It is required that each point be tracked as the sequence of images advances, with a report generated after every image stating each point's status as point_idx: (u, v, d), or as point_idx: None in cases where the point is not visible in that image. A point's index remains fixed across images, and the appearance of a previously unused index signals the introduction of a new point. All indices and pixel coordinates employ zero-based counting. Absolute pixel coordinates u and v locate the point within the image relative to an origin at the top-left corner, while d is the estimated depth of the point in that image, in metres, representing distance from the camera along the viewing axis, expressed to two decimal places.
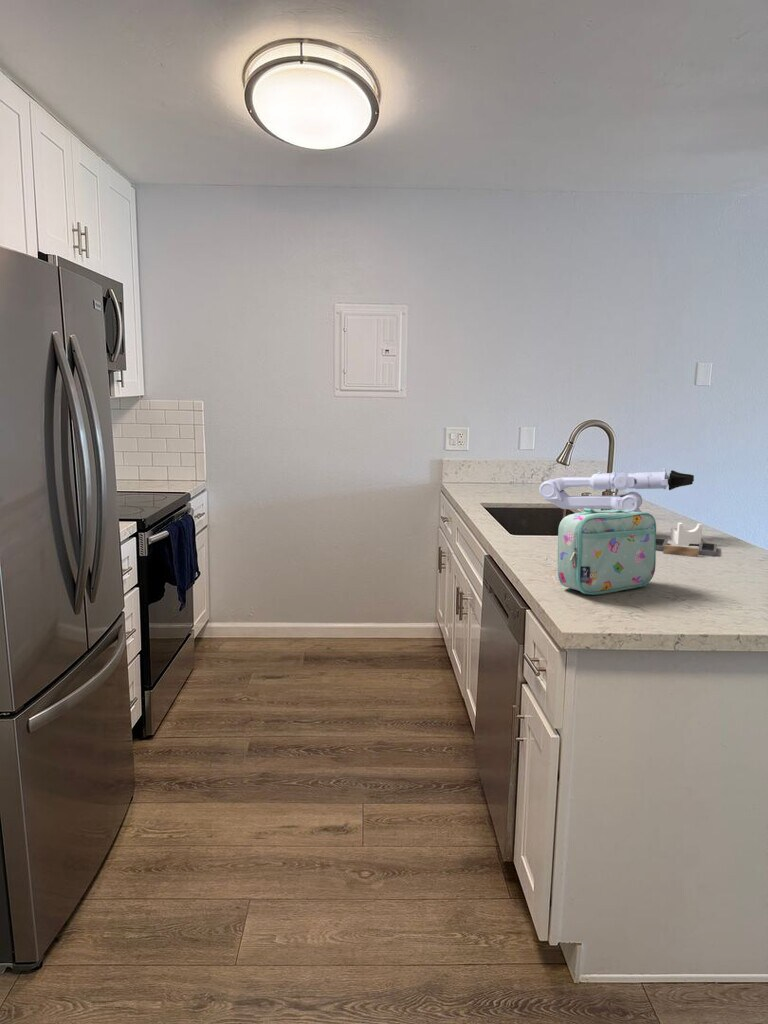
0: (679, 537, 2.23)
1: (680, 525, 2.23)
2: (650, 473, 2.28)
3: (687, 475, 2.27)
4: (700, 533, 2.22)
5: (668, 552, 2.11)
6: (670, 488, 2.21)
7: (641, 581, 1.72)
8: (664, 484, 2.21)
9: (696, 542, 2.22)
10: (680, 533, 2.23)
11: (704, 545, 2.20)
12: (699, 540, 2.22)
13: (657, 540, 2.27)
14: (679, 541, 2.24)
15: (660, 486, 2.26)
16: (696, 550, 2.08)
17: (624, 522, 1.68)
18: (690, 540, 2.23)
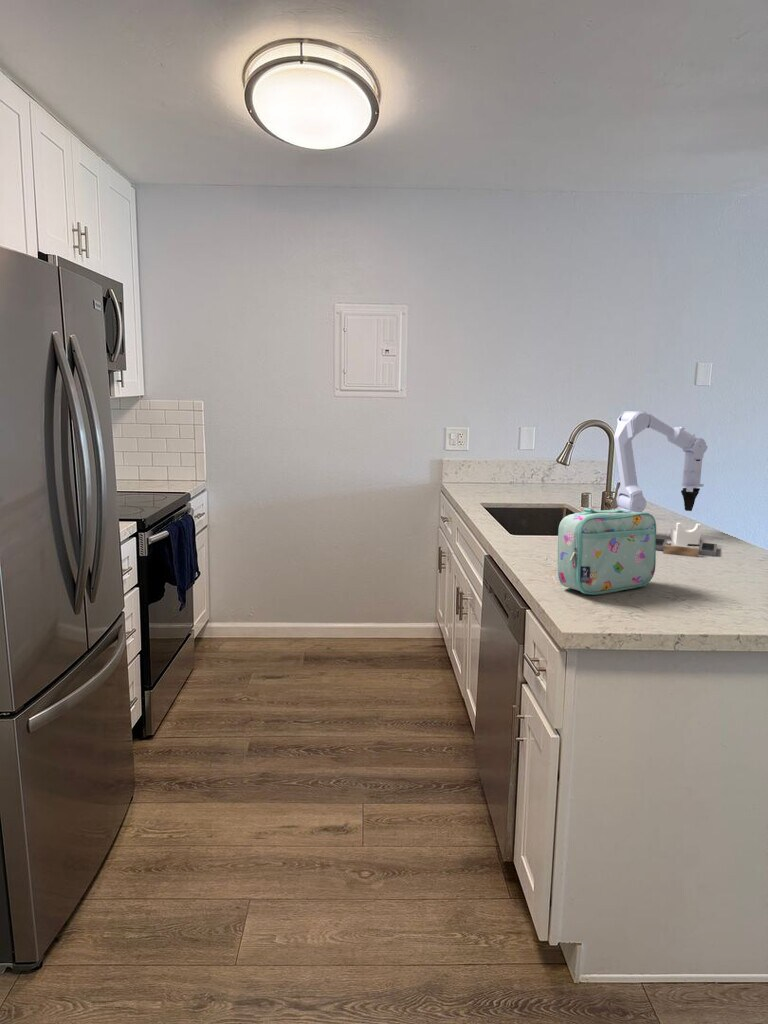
0: (677, 537, 2.23)
1: (678, 525, 2.22)
2: (699, 473, 2.33)
3: None
4: (698, 533, 2.21)
5: (668, 552, 2.11)
6: (682, 492, 2.33)
7: (641, 581, 1.72)
8: (687, 488, 2.30)
9: (694, 542, 2.22)
10: (678, 533, 2.23)
11: (704, 545, 2.20)
12: (697, 541, 2.22)
13: (657, 540, 2.27)
14: (677, 541, 2.23)
15: (685, 481, 2.35)
16: (696, 550, 2.08)
17: (624, 522, 1.68)
18: (689, 540, 2.22)
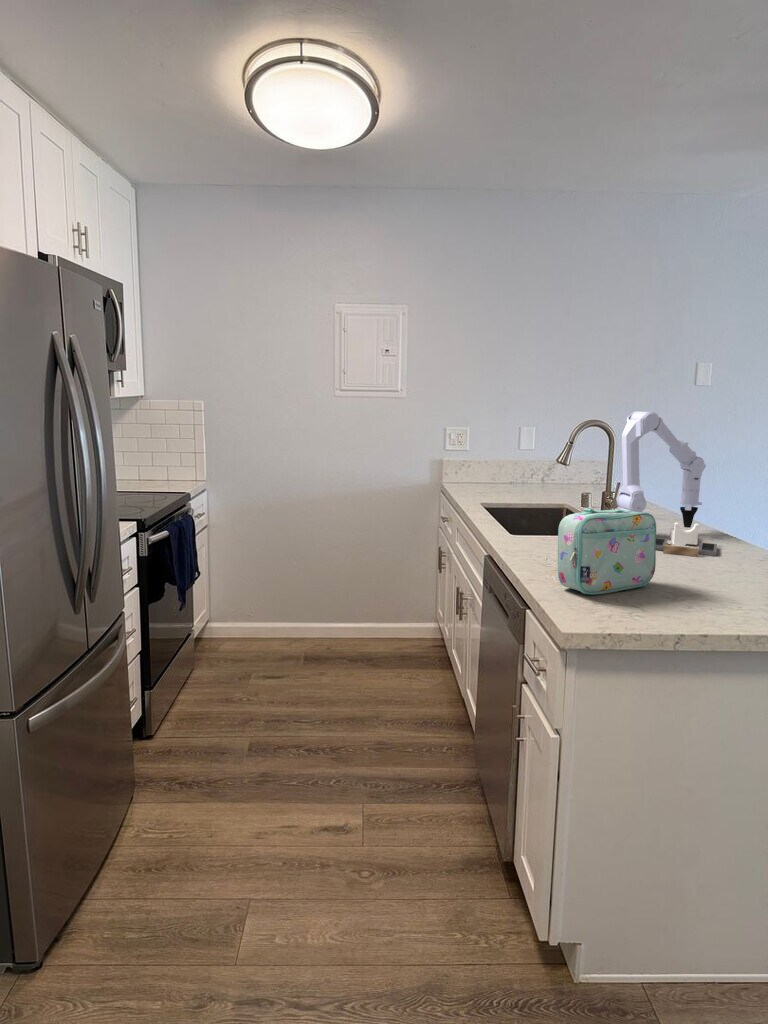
0: (675, 537, 2.23)
1: (676, 525, 2.23)
2: (698, 491, 2.34)
3: None
4: (696, 533, 2.21)
5: (668, 552, 2.11)
6: (681, 509, 2.37)
7: (641, 581, 1.72)
8: (686, 507, 2.31)
9: (692, 542, 2.22)
10: (676, 533, 2.23)
11: (704, 545, 2.20)
12: (695, 541, 2.22)
13: (657, 540, 2.27)
14: (675, 541, 2.24)
15: (683, 500, 2.36)
16: (696, 550, 2.08)
17: (624, 522, 1.68)
18: (687, 540, 2.22)
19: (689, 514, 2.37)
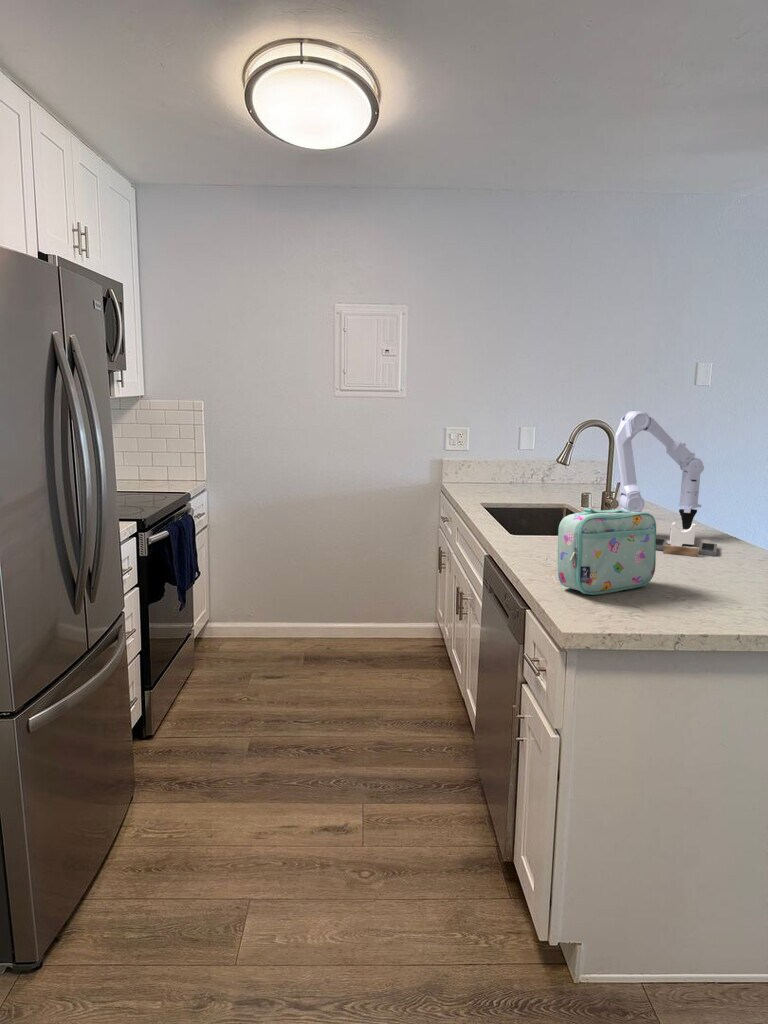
0: (672, 537, 2.23)
1: (673, 525, 2.22)
2: (697, 493, 2.30)
3: None
4: (693, 533, 2.21)
5: (668, 552, 2.11)
6: (680, 512, 2.32)
7: (641, 581, 1.72)
8: (685, 509, 2.26)
9: (689, 542, 2.21)
10: (672, 533, 2.23)
11: (704, 545, 2.20)
12: (692, 541, 2.21)
13: (657, 540, 2.27)
14: (672, 541, 2.23)
15: (682, 502, 2.31)
16: (696, 550, 2.08)
17: (624, 522, 1.68)
18: (683, 540, 2.22)
19: (688, 517, 2.32)
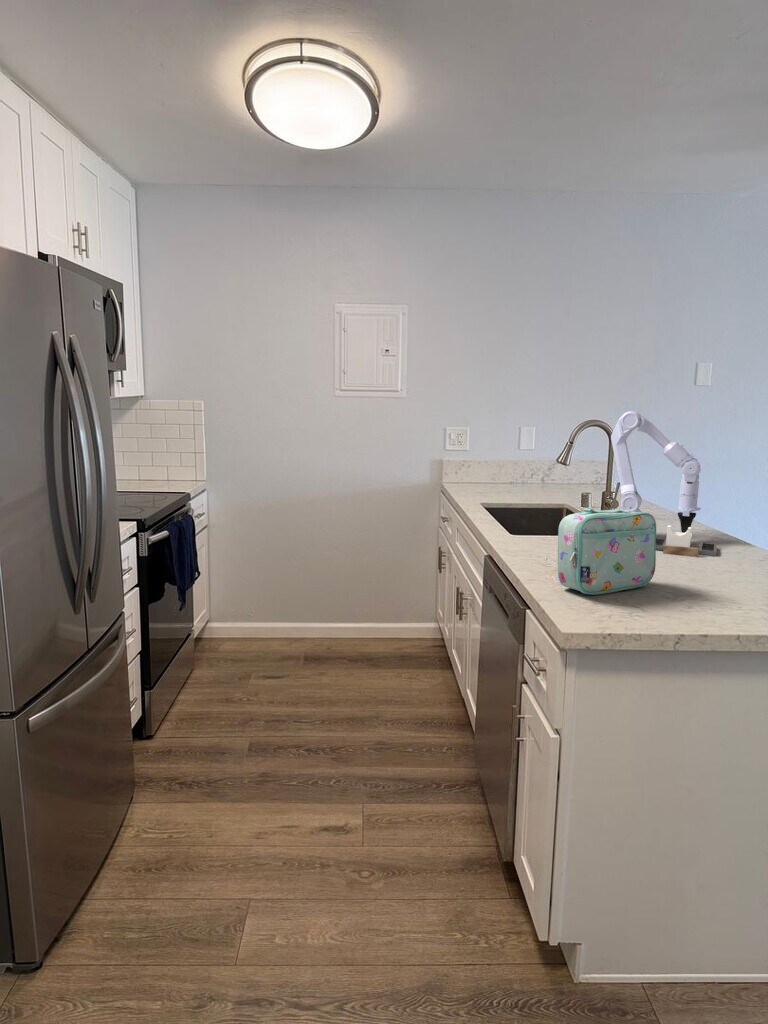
0: (667, 540, 2.18)
1: (668, 528, 2.17)
2: (696, 496, 2.23)
3: None
4: (689, 537, 2.15)
5: (668, 552, 2.11)
6: (679, 515, 2.26)
7: (641, 581, 1.72)
8: (684, 512, 2.20)
9: (685, 546, 2.16)
10: (668, 536, 2.18)
11: (704, 545, 2.20)
12: (688, 545, 2.15)
13: (657, 540, 2.27)
14: (667, 544, 2.18)
15: (681, 505, 2.25)
16: (696, 550, 2.08)
17: (624, 522, 1.68)
18: (679, 544, 2.16)
19: (687, 520, 2.26)
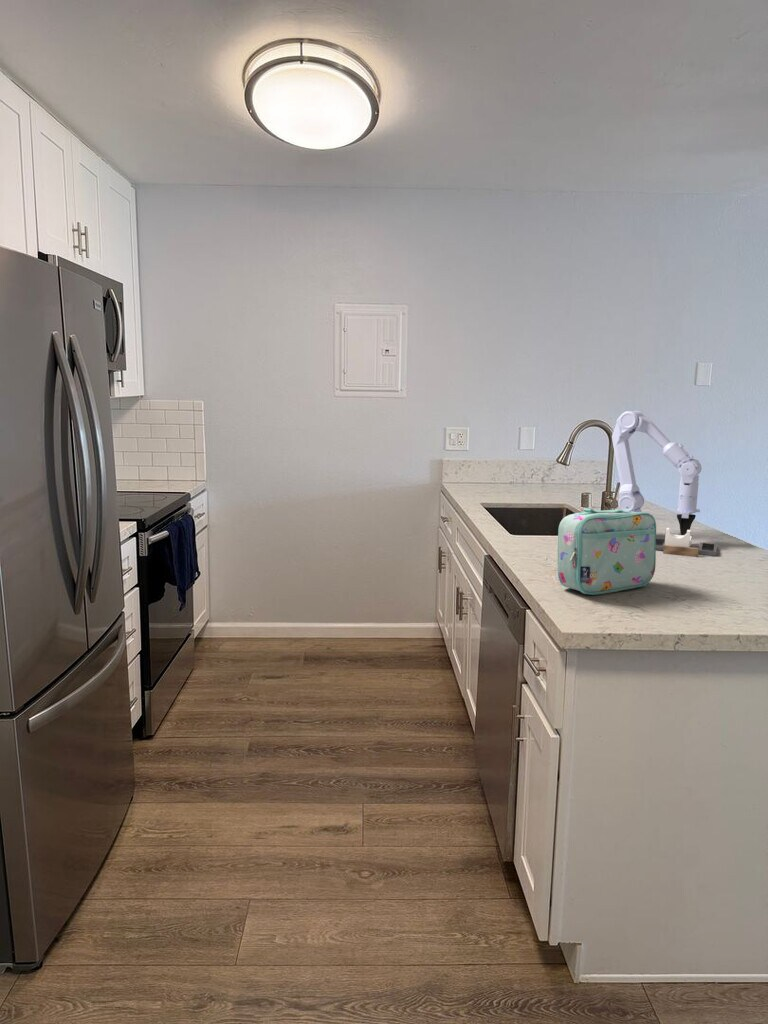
0: (665, 543, 2.14)
1: (667, 530, 2.14)
2: (696, 498, 2.20)
3: None
4: (688, 540, 2.11)
5: (668, 552, 2.11)
6: (678, 517, 2.22)
7: (641, 581, 1.72)
8: (683, 514, 2.17)
9: None
10: (666, 539, 2.14)
11: (704, 545, 2.20)
12: None
13: (657, 540, 2.27)
14: None
15: (680, 507, 2.21)
16: (696, 550, 2.08)
17: (624, 522, 1.68)
18: None
19: (686, 522, 2.23)
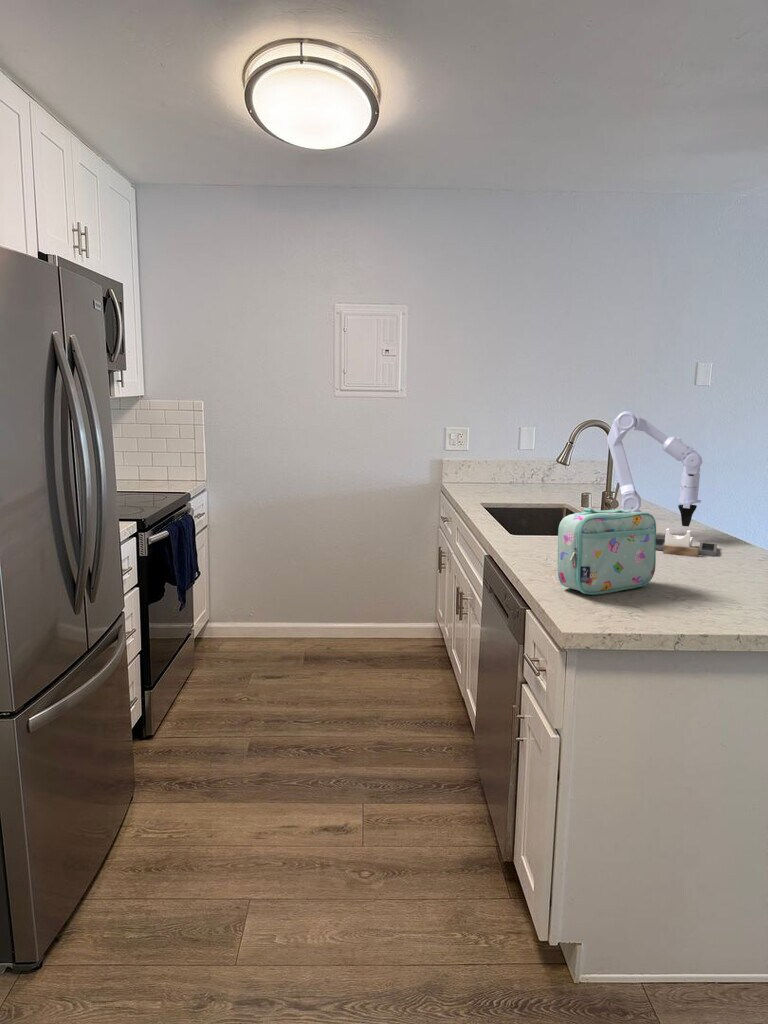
0: (665, 544, 2.13)
1: (666, 531, 2.13)
2: (697, 488, 2.24)
3: None
4: (688, 541, 2.10)
5: (668, 552, 2.11)
6: (680, 507, 2.26)
7: (641, 581, 1.72)
8: (684, 505, 2.21)
9: None
10: (666, 540, 2.13)
11: (704, 545, 2.20)
12: None
13: (657, 540, 2.27)
14: None
15: (681, 497, 2.26)
16: (696, 550, 2.08)
17: (624, 522, 1.68)
18: None
19: (687, 512, 2.27)
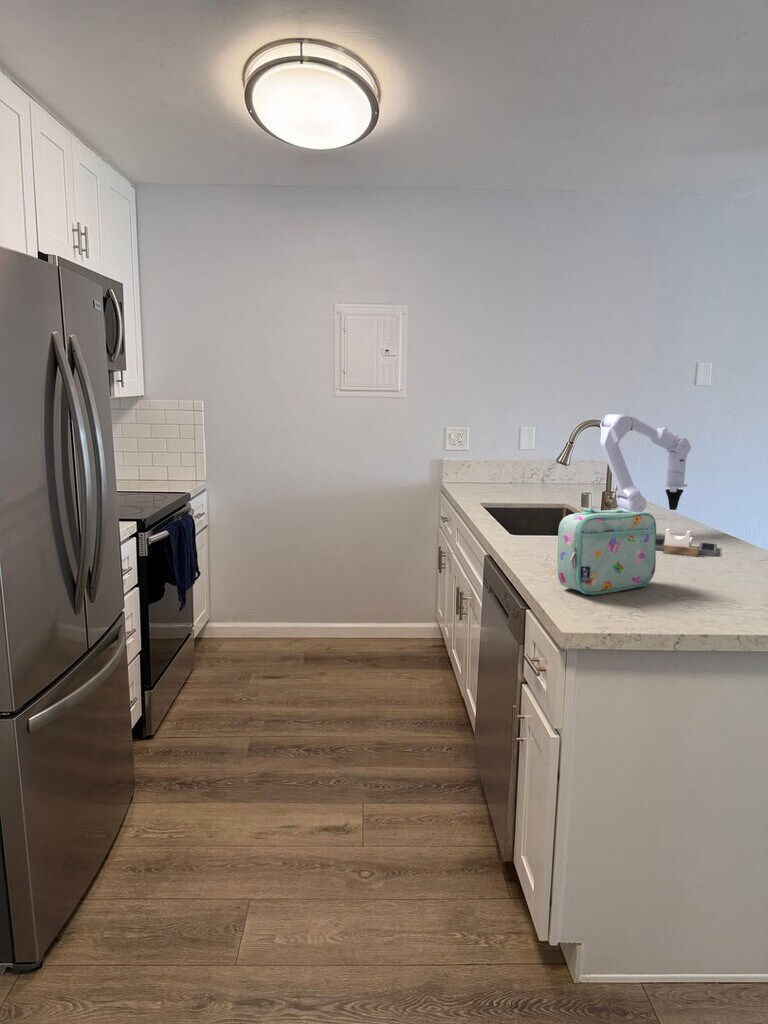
0: (665, 544, 2.13)
1: (666, 531, 2.12)
2: (683, 473, 2.32)
3: None
4: (687, 541, 2.10)
5: (668, 552, 2.11)
6: (667, 491, 2.35)
7: (641, 581, 1.72)
8: (671, 488, 2.29)
9: None
10: (666, 540, 2.13)
11: (704, 545, 2.20)
12: None
13: (657, 540, 2.27)
14: None
15: (668, 482, 2.34)
16: (696, 550, 2.08)
17: (624, 522, 1.68)
18: None
19: (675, 496, 2.35)
